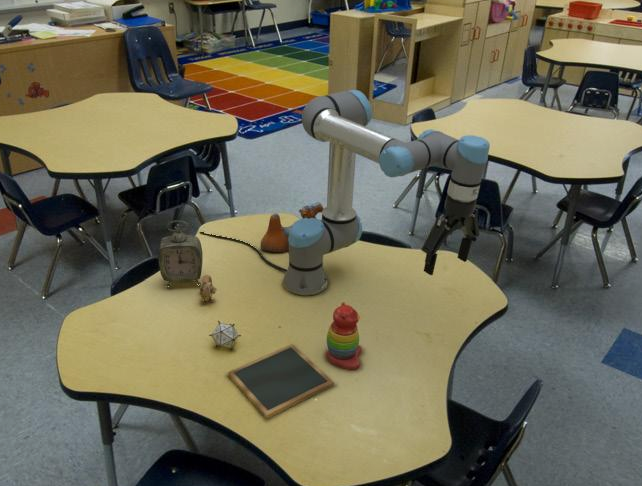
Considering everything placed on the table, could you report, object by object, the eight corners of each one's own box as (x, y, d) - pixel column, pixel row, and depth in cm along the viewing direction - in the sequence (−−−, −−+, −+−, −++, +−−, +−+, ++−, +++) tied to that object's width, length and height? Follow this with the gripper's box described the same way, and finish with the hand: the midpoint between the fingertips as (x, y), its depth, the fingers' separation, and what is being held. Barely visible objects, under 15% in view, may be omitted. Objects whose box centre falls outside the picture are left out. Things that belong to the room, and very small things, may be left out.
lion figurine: (218, 307, 194) (216, 285, 189) (202, 310, 193) (200, 287, 188) (212, 284, 206) (210, 262, 202) (197, 286, 205) (195, 264, 201)
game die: (232, 352, 180) (250, 329, 177) (221, 361, 172) (240, 337, 169) (210, 333, 181) (228, 310, 178) (199, 341, 173) (217, 317, 170)
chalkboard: (228, 375, 166) (228, 371, 165) (291, 347, 176) (291, 343, 175) (266, 419, 151) (266, 414, 150) (333, 385, 161) (333, 381, 161)
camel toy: (260, 254, 223) (258, 213, 214) (261, 238, 235) (259, 198, 226) (325, 254, 223) (327, 213, 214) (323, 237, 234) (324, 197, 225)
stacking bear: (359, 371, 166) (363, 320, 157) (323, 366, 168) (325, 316, 159) (361, 347, 175) (365, 298, 166) (328, 343, 177) (330, 294, 168)
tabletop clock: (162, 291, 203) (153, 227, 190) (164, 277, 211) (156, 214, 198) (204, 289, 204) (198, 225, 191) (205, 275, 211) (199, 213, 198)
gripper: (439, 213, 142) (423, 285, 154) (504, 192, 154) (485, 260, 166) (416, 201, 147) (403, 272, 159) (482, 181, 159) (465, 248, 171)
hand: (445, 266), depth 162 cm, fingers open, 13 cm apart
